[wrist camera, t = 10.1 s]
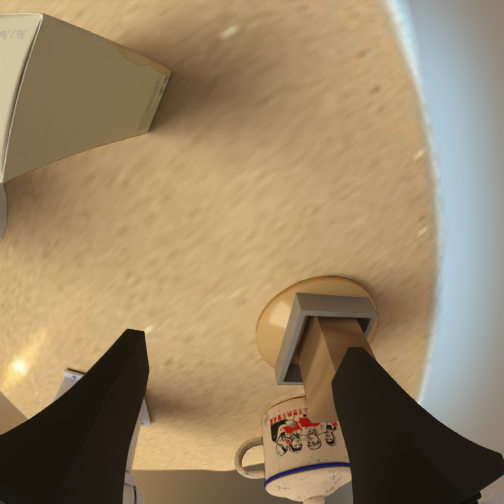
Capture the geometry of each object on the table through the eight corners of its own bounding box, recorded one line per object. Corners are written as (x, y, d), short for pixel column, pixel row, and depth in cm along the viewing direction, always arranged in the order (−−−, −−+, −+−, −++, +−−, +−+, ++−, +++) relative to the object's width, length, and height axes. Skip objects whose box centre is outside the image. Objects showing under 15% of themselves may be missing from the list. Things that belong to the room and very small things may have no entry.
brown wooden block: (296, 351, 23) (311, 423, 16) (312, 302, 20) (337, 377, 14) (330, 352, 23) (351, 420, 17) (349, 305, 21) (382, 374, 14)
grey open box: (248, 366, 24) (249, 391, 22) (267, 270, 20) (271, 293, 18) (351, 368, 25) (359, 390, 23) (391, 281, 21) (407, 301, 18)
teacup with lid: (341, 386, 27) (370, 484, 16) (335, 425, 31) (354, 504, 20) (226, 403, 27) (225, 506, 17) (241, 439, 31) (243, 520, 21)
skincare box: (174, 70, 14) (59, 5, 3) (146, 137, 16) (6, 191, 5) (89, 50, 13) (-56, 20, 2) (67, 113, 14) (-86, 145, 3)
